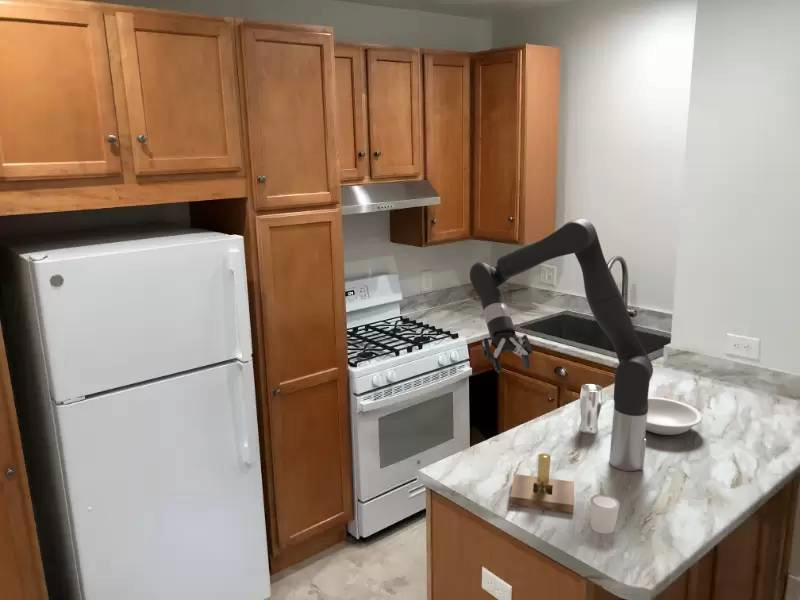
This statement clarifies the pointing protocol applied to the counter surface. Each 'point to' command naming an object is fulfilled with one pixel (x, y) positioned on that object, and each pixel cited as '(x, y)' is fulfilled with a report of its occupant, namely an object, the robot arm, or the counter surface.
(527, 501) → the block
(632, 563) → the counter surface
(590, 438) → the counter surface
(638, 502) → the counter surface
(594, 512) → the shot glass
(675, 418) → the soup bowl
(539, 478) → the peg
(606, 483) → the counter surface
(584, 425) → the beer glass
